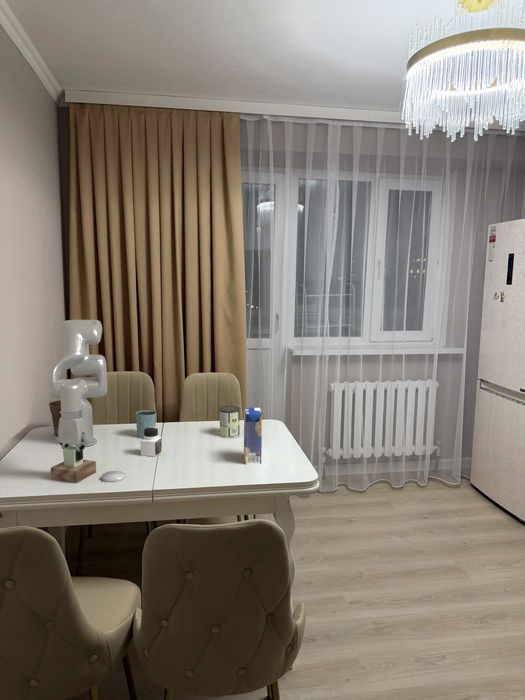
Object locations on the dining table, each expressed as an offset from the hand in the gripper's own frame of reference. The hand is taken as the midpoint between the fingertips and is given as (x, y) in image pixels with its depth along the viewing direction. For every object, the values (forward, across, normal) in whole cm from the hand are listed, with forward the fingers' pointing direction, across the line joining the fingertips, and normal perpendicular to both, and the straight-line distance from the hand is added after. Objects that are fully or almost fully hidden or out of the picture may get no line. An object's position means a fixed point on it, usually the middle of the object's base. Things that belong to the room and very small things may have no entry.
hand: (73, 458), depth 204 cm
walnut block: (+7, 0, 0) cm, 7 cm away
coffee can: (+7, +35, +73) cm, 81 cm away
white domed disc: (+7, +16, +4) cm, 18 cm away
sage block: (+2, 0, 0) cm, 2 cm away
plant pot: (+7, -42, +44) cm, 61 cm away
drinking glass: (+7, -3, +56) cm, 57 cm away
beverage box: (+7, +59, +44) cm, 74 cm away
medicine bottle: (+7, +14, +34) cm, 37 cm away
